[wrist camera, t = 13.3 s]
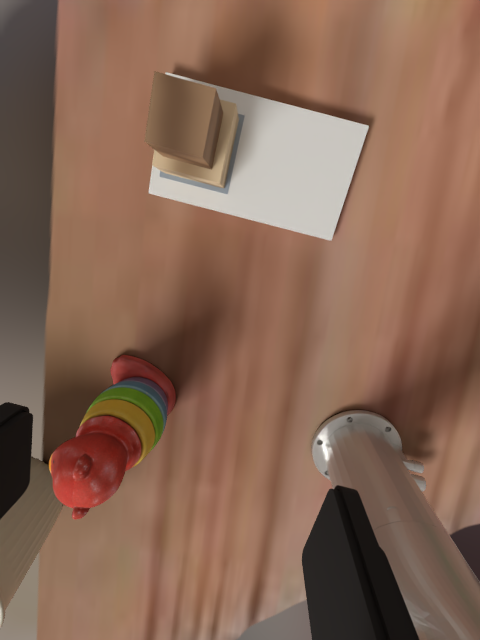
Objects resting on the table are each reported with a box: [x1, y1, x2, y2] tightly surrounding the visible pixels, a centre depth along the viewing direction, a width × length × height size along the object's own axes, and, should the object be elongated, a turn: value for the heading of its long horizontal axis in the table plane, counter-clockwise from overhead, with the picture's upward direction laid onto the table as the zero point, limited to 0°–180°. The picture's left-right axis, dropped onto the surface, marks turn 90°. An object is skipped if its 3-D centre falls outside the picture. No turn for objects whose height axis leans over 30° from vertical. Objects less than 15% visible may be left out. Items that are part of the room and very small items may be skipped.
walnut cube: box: [144, 71, 223, 170], centre depth 26 cm, size 5×5×5 cm
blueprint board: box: [149, 72, 369, 240], centre depth 33 cm, size 22×12×1 cm, turn 76°
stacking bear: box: [49, 355, 176, 519], centre depth 35 cm, size 11×10×18 cm
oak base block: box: [152, 99, 239, 188], centre depth 31 cm, size 7×7×4 cm
